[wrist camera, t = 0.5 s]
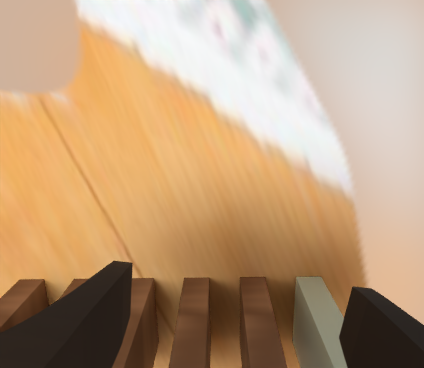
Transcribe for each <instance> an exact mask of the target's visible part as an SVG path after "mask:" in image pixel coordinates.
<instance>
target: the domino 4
mask: <svg viewBox="0 0 424 368" xmlns="http://www.w3.org/2000/svg"><path fill="white" fill-rule="evenodd" d="M240 349H241V361H242V368H287V365H286V361H285V357H284V353H283V349H282V344H281V340H280V336H279V332H278V328H277V324H276V320H275V316H274V312H273V308H272V304H271V300H270V296H269V292H268V288H267V284H266V280H265V277H240Z"/></svg>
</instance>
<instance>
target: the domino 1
mask: <svg viewBox="0 0 424 368" xmlns="http://www.w3.org/2000/svg"><path fill="white" fill-rule="evenodd" d="M48 306H49V305H48V299H47V294H46V289H45V283H44V279H37V280H19V281H18V282H17V283H16V284H15V285H14V286H13V287H12V288H11V289H10V290H9V291H7V292H6V293H5V294H4V295H3V296H2V297H1V298H0V333H1V332H3V331H5V330H7V329H9V328H11V327H13V326H15V325H17V324H19V323H21V322H23V321H25V320H26V319H28V318H30V317H32V316H33V315H35V314H37V313H39V312H40V311H42V310H44V309H45V308H47V307H48Z"/></svg>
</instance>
